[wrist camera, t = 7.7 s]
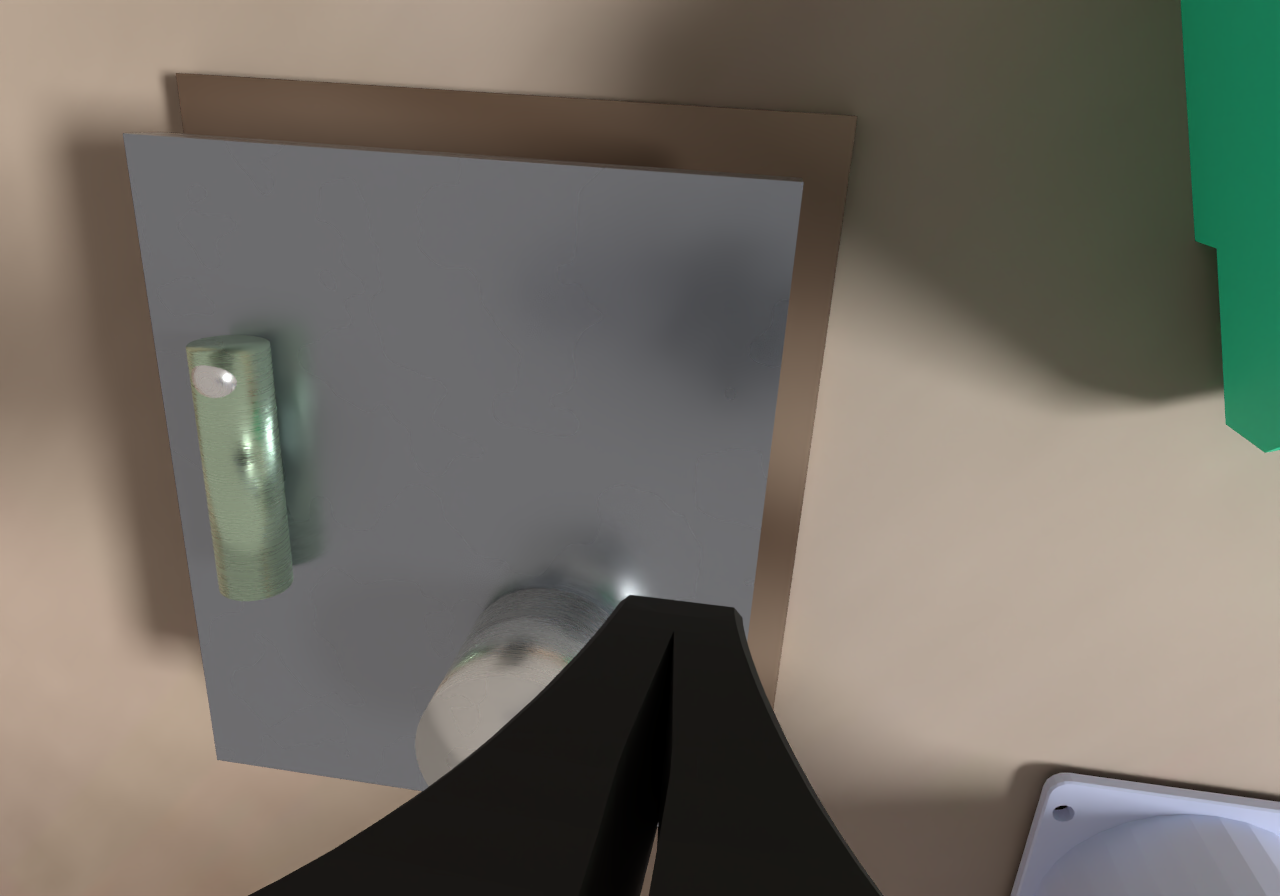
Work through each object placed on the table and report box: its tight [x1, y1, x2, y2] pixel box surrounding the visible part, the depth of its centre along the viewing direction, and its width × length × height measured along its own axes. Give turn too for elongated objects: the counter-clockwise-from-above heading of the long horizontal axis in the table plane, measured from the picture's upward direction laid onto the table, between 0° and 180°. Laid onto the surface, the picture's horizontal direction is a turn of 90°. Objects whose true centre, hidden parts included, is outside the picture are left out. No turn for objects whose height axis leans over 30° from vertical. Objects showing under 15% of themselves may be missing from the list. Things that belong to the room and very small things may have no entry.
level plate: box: [123, 132, 804, 827], centre depth 17 cm, size 14×12×4 cm
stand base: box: [176, 73, 857, 709], centre depth 20 cm, size 16×14×3 cm
